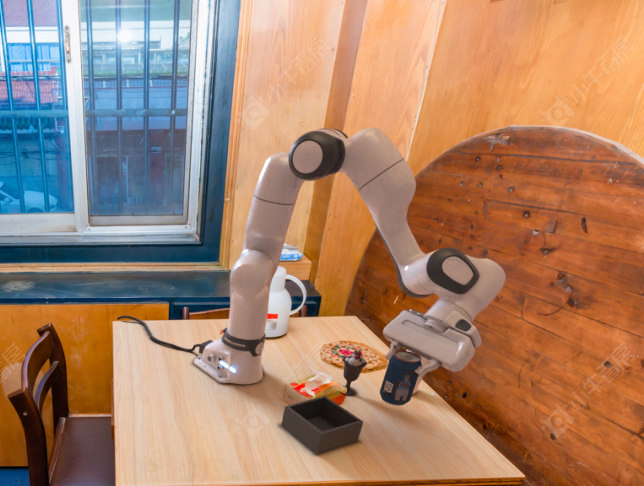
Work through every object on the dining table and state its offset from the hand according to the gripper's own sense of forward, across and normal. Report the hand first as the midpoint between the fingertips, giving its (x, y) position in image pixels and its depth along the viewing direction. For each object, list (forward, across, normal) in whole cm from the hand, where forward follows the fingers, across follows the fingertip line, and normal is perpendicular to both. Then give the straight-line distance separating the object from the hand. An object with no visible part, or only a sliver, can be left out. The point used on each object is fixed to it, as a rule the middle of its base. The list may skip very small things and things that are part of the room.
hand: (402, 367), depth 120 cm
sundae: (+7, -22, +23) cm, 33 cm away
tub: (+24, -9, +7) cm, 26 cm away
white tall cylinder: (-5, -16, +36) cm, 39 cm away
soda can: (+6, 0, +7) cm, 9 cm away
